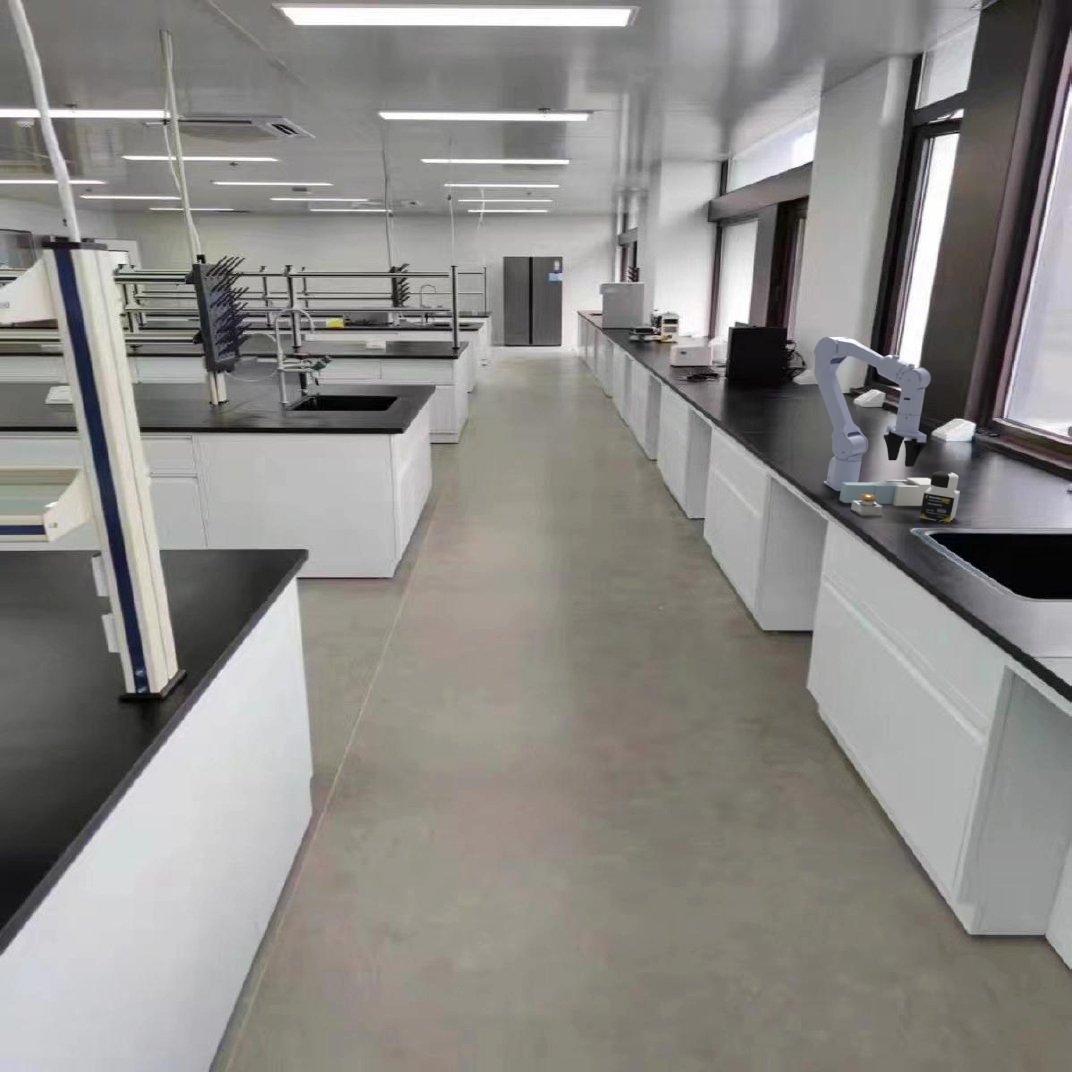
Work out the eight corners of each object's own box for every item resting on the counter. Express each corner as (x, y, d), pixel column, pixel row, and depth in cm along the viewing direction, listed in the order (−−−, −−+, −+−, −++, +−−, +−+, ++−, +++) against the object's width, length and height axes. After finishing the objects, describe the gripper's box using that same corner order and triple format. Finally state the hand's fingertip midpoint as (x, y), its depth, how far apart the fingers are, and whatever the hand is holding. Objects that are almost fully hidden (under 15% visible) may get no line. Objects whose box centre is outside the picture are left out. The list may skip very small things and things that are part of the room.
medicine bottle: (918, 518, 197) (927, 472, 193) (925, 512, 202) (933, 468, 198) (949, 523, 193) (958, 477, 189) (954, 517, 198) (964, 472, 194)
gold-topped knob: (856, 508, 202) (858, 493, 201) (870, 508, 202) (872, 494, 201) (862, 512, 198) (864, 497, 197) (876, 512, 198) (879, 498, 197)
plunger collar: (850, 509, 203) (852, 500, 202) (871, 509, 203) (872, 500, 202) (860, 515, 198) (861, 506, 197) (881, 516, 198) (882, 506, 197)
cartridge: (838, 499, 212) (841, 481, 210) (898, 499, 212) (901, 482, 211) (844, 503, 208) (847, 485, 206) (905, 503, 209) (908, 486, 207)
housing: (881, 498, 214) (885, 477, 212) (923, 498, 215) (927, 477, 213) (894, 506, 207) (898, 484, 205) (937, 506, 208) (942, 484, 206)
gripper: (879, 409, 212) (872, 457, 216) (912, 418, 198) (903, 469, 202) (902, 409, 213) (894, 457, 217) (936, 418, 199) (927, 469, 204)
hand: (900, 463), depth 210 cm, fingers open, 7 cm apart
